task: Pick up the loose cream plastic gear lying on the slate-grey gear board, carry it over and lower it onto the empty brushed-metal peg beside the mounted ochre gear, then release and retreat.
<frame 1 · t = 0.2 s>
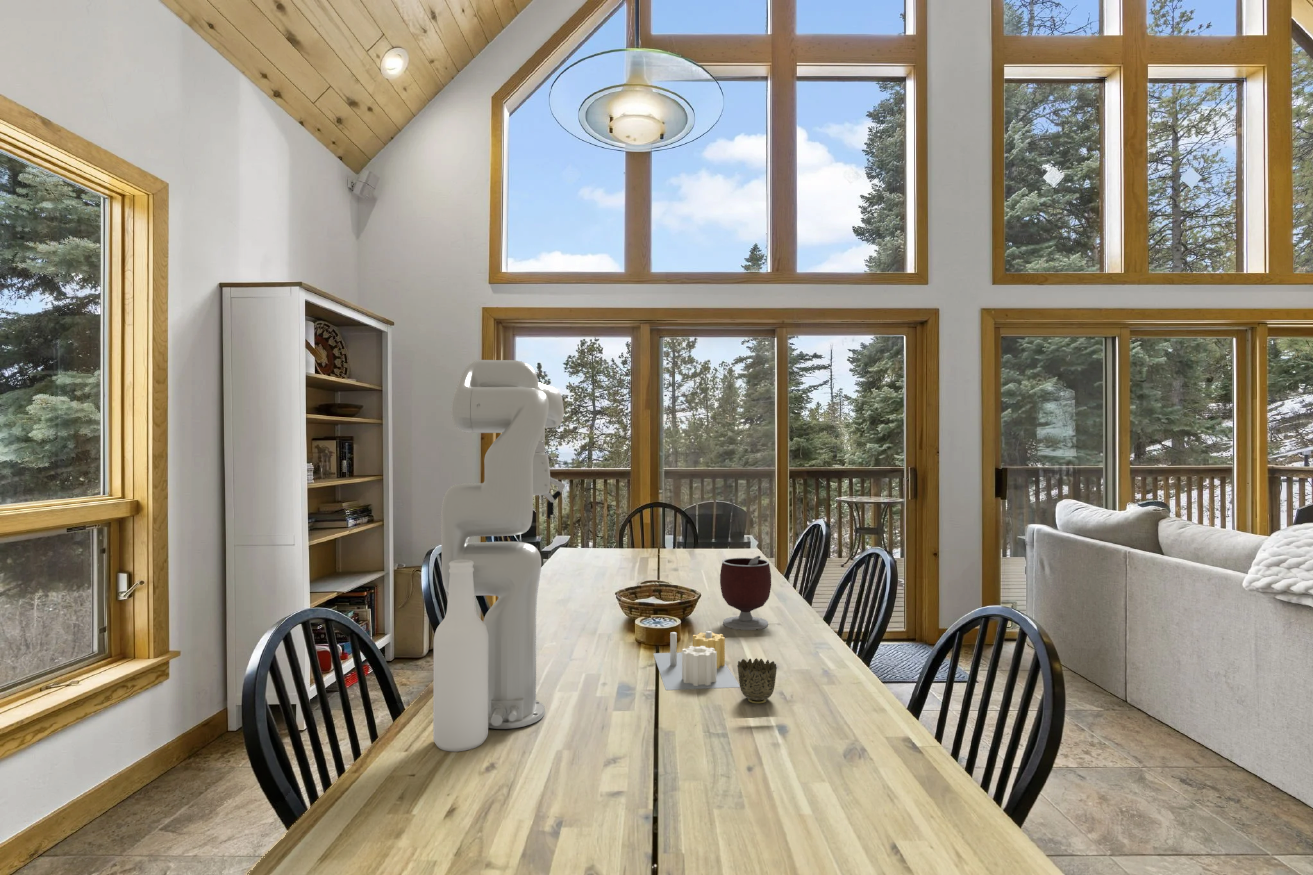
hand: (529, 518, 173), 31 cm above the table, fingers open, 9 cm apart
ochre gear: (708, 663, 154), resting on gear board
cream gear: (699, 679, 144), point 1 cm above the table, touching gear board
mate gourd: (746, 625, 192), on the table
cup: (757, 707, 133), on the table
alcohol: (461, 742, 117), on the table
gear board: (693, 674, 151), on the table
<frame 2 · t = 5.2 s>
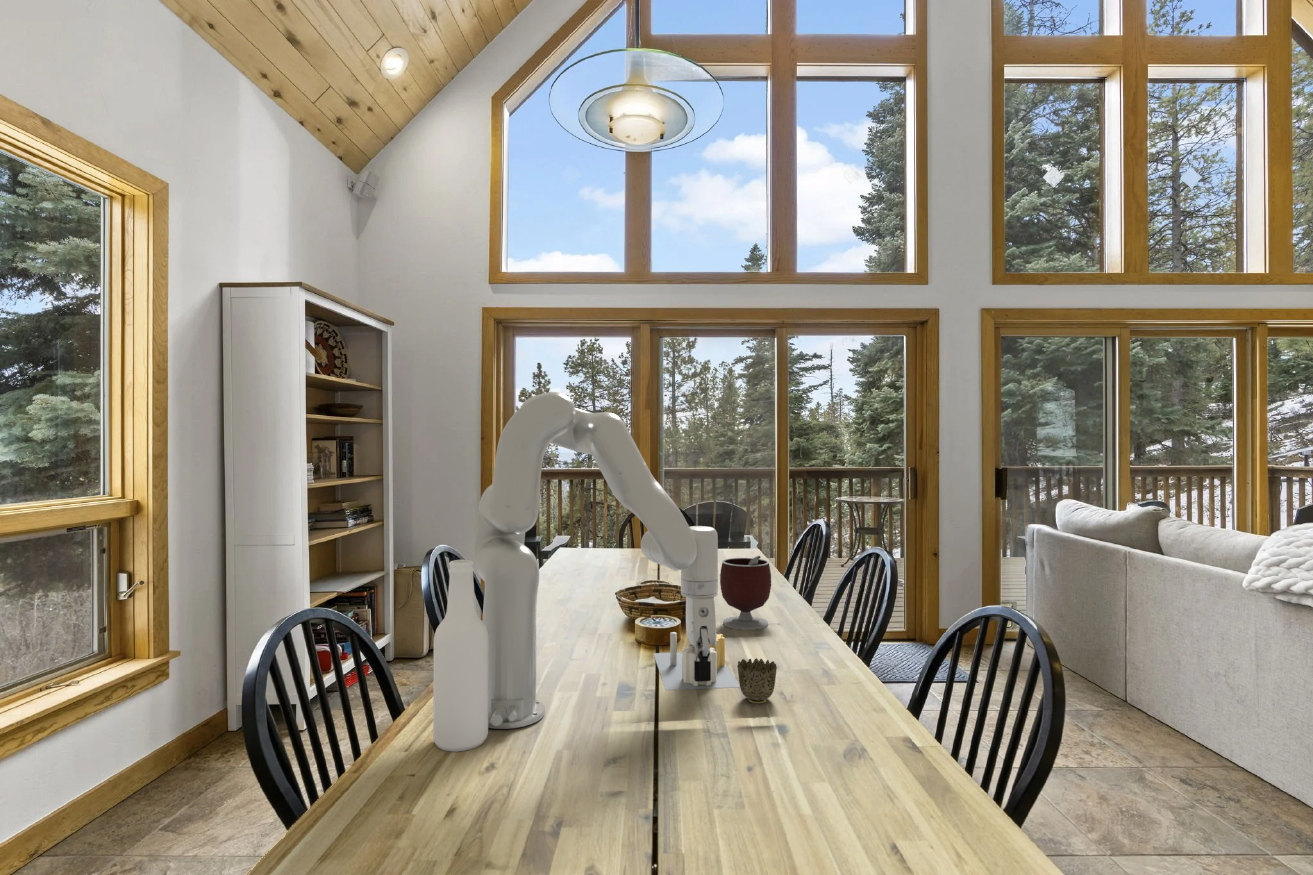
hand: (699, 673, 144), 2 cm above the table, fingers closed on cream gear, 6 cm apart
cream gear: (699, 679, 144), point 1 cm above the table, touching gear board, gripper
everything else where it was.
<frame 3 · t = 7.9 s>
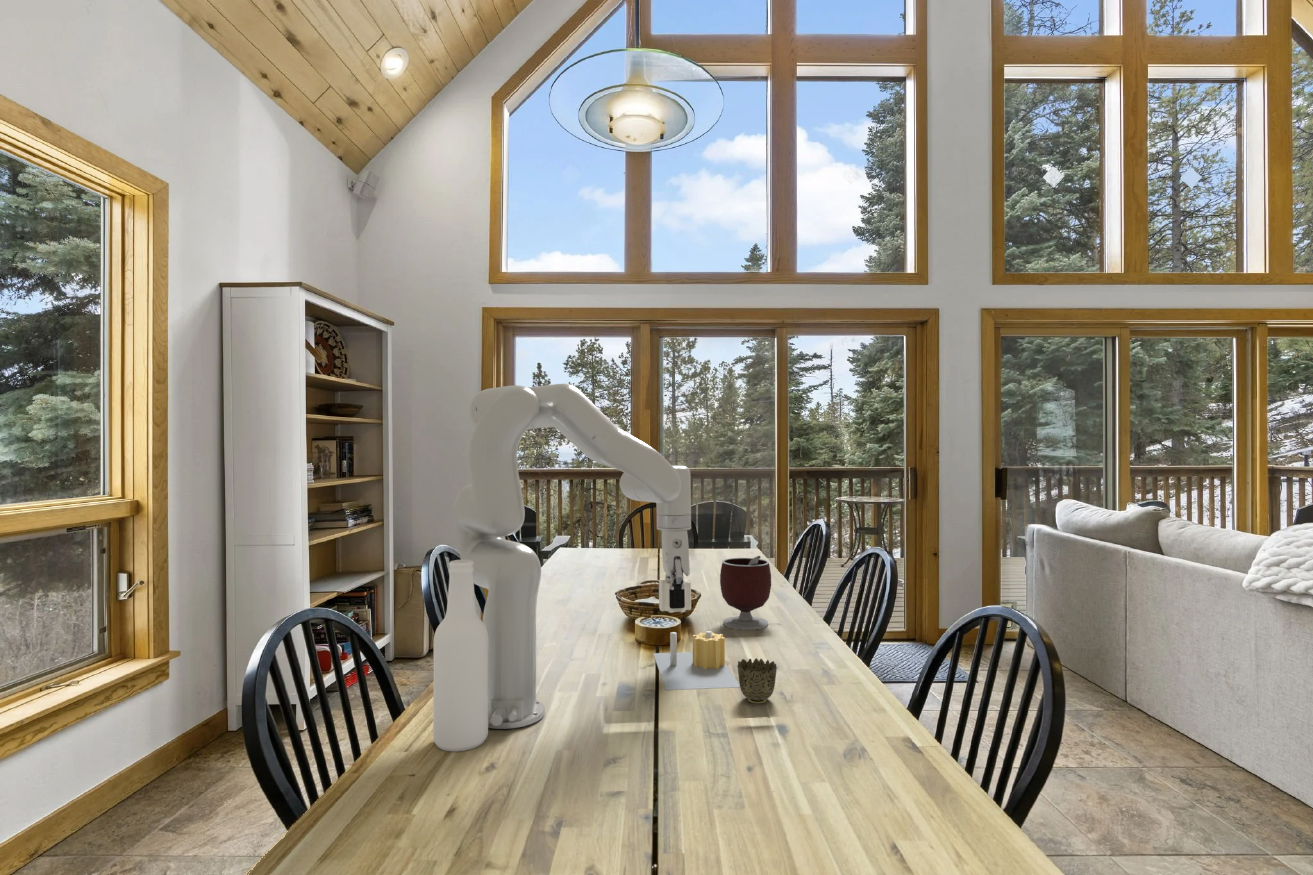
hand: (674, 603, 154), 15 cm above the table, fingers closed on cream gear, 6 cm apart
cream gear: (675, 608, 154), point 13 cm above the table, touching gripper
everything else where it was.
when the fingers open (4 cm above the table, at t = 10.7 s): cream gear drops 2 cm, resting on gear board.
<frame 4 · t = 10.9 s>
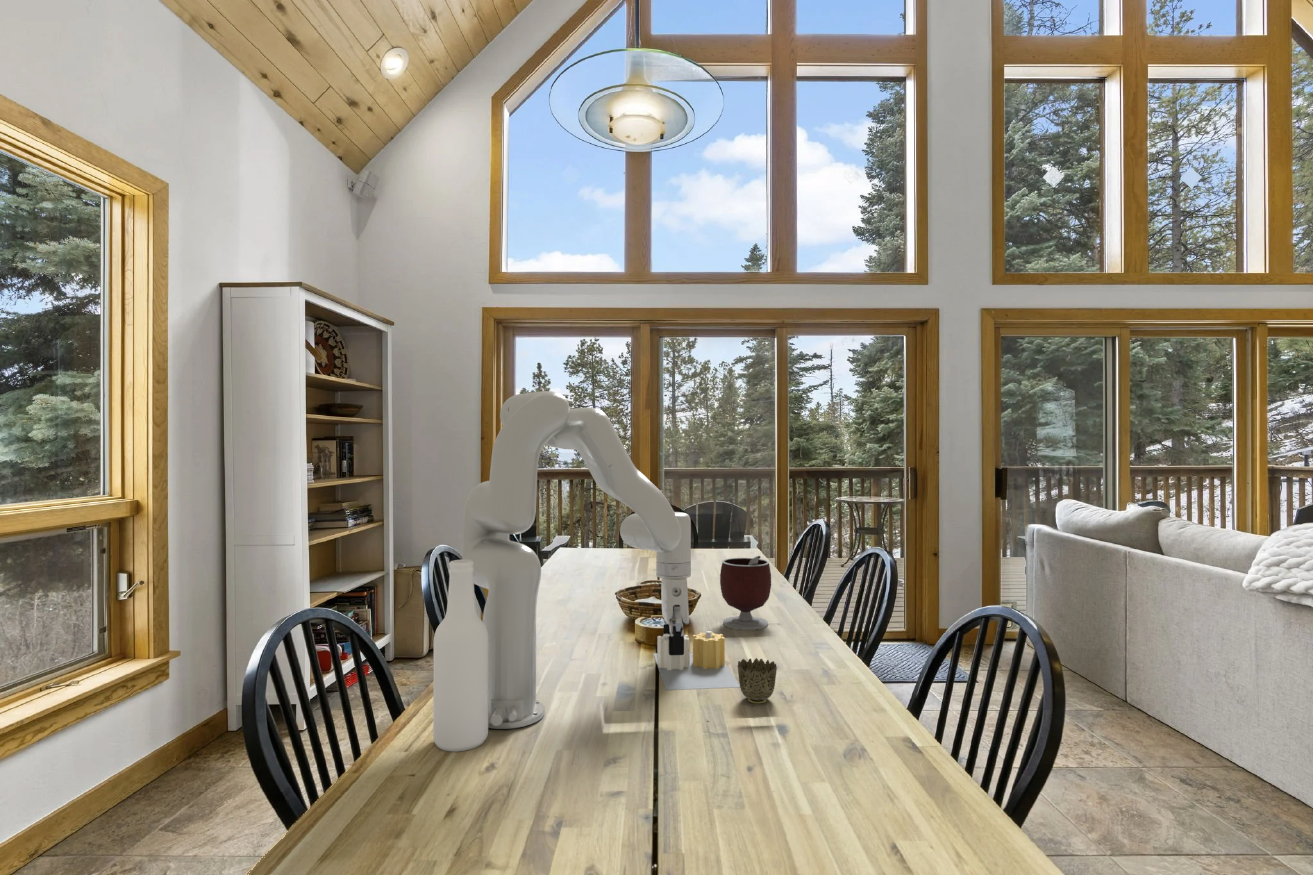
hand: (673, 648, 153), 5 cm above the table, fingers open, 9 cm apart
cream gear: (673, 665, 153), point 1 cm above the table, touching gear board
everything else where it was.
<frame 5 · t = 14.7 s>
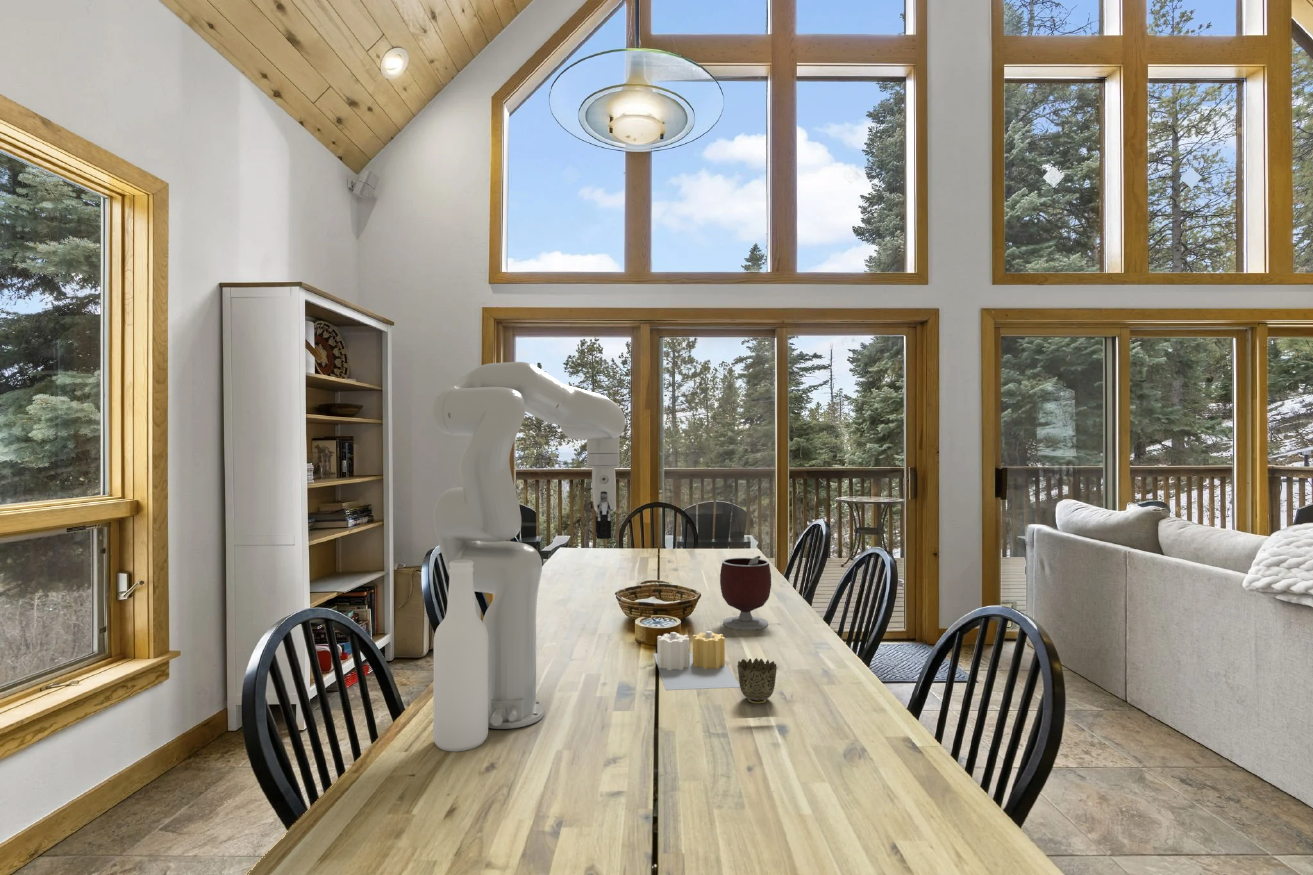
hand: (603, 535, 162), 28 cm above the table, fingers open, 9 cm apart
nothing on the table moved.
at the end: cream gear 0.0 cm from the target spot on the gear board, point 1.2 cm above the gear board's base; cream gear tilted 0°; the gripper is holding nothing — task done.
